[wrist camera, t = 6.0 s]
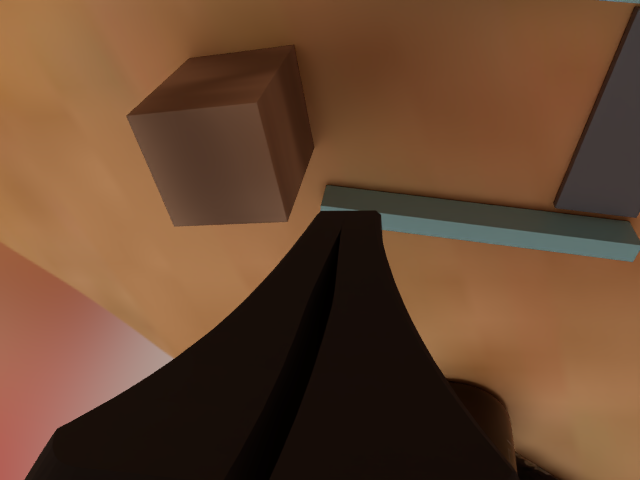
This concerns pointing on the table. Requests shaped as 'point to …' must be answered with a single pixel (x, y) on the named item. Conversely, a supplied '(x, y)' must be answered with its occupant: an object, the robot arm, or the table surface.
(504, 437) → the supplement bottle
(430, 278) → the table surface
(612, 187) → the channel
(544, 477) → the pine cone
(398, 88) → the table surface
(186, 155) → the walnut block
